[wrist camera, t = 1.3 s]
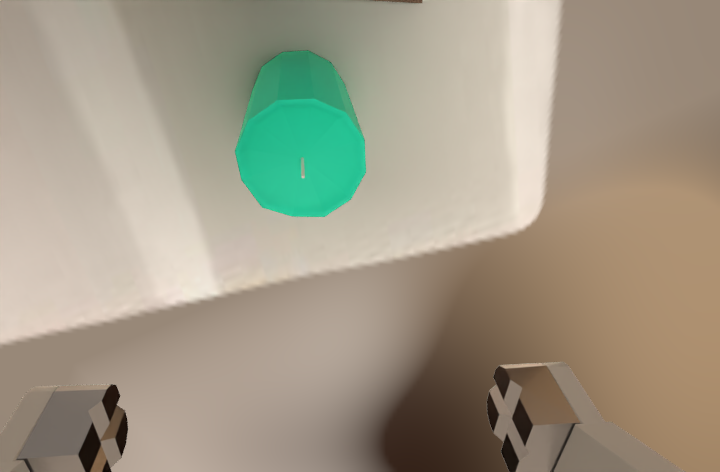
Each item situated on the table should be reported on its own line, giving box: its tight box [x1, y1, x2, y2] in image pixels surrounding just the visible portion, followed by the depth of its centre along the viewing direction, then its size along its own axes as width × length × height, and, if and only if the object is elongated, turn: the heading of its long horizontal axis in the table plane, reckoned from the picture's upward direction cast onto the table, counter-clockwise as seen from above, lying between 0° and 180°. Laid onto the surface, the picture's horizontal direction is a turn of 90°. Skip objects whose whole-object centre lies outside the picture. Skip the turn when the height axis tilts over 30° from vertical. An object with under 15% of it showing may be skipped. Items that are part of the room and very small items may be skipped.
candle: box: [235, 50, 366, 217], centre depth 25 cm, size 6×6×12 cm
